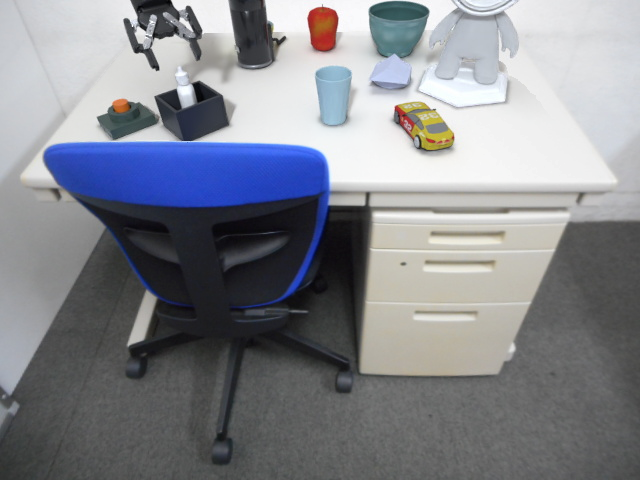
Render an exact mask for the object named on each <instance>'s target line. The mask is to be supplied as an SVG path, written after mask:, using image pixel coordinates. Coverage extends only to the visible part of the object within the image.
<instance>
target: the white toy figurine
mask: <svg viewBox="0 0 640 480" xmlns="http://www.w3.org/2000/svg"><path fill="white" fill-rule="evenodd" d="M450 1H451V2H452V3H453V5H455V6H456V8H454V9H453V10H451V11H450V12H449V13H448V14H447V15H446V16H445V17H444V18H442V19H441V21H440V22H438V23H437V25H435V27H434V29H433V30H432V32H431V34H430V35H429V38H428V39H429V40H428V48H429V49H430V50H433V49H434V48H435V45H436V44H437V43H438V42H439V45H440V46H443V45H444V43H445V41H446V39H447V37H448V35H449V34H450V35H449V37H448V39H447V41H446V43H445V45H444V47H443V49H442V51H441V55H440V56H439V59H438V62H437V64H431V65H429V66H428V67H427V68H426V69H425V72H424V75H423V77H422V79H421V82H420V84H419V86H418V92H421V93H422V94H425V95H427V96H430V97H432V98H434V99H437V100H439V101H441V102H444V103H445V104H448V105H451V106H453V107H455V108H465V107H474V106H482V105H491V104H492V105H493V104H499V103H500V104H501V103H505V101H506V96H507V88H508V77H507V75H506V74H505V73H503V72H501V71H499V61H500V57H499V56H500V41H501V52H502V53H505V52H506V49H508V51H509V58H510V59H513V58H515V56H516V55H517V53H518V51H519V47H520V39H519V35H518V31H517V29H516V27H515V25H514V23H513V21H512V19H511V17H510V16H509V15H508V14H507V12H505V11H506V10H508V9H510V8H511V7H513V6H514V5H515V4H517V3H518V2H520V0H450ZM450 32H451V33H450ZM499 36H500V39H499ZM464 59H466V61H464ZM470 60H474V62H472V61H470Z"/></svg>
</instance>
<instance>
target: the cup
mask: <svg viewBox="0 0 640 480" xmlns="http://www.w3.org/2000/svg"><path fill="white" fill-rule="evenodd" d="M352 77H353V71H352V70H351V69H350V68H348V67H346V66H342V65H325V66H322V67H320V68H318V69H317V70H316V71H315V72H314V80H315V85H316V91H317V99H318V105H319V112H320V119H321V122H322V123H323V124H325V125H328V126H339V125H341V124H344V123H345V122H346V120H347V115H348V108H349V100H350V95H351V94H350V93H351V86H352Z"/></svg>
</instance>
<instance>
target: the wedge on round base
mask: <svg viewBox="0 0 640 480" xmlns="http://www.w3.org/2000/svg"><path fill="white" fill-rule="evenodd" d="M412 70H413V69H412V65H411V64H410V63H408V62H407V61H403V59H402V58H401V57H398V56H397V55H396V54H393V55H392V56H390V57H388V56H387V58H385V59H383V60H382V61H379V62H377V63H376V64H375V66H374V67H373V70H372V72H371V74H370V76H369V78H368V81H370V82H374V83H375V84H376V85H377V86H379V87H381V88H384V89H389V90H392V89H394V90H396V89H397V90H398V89H403V88H405V87H407V86H409V84H410V83H411V78H412Z"/></svg>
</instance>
